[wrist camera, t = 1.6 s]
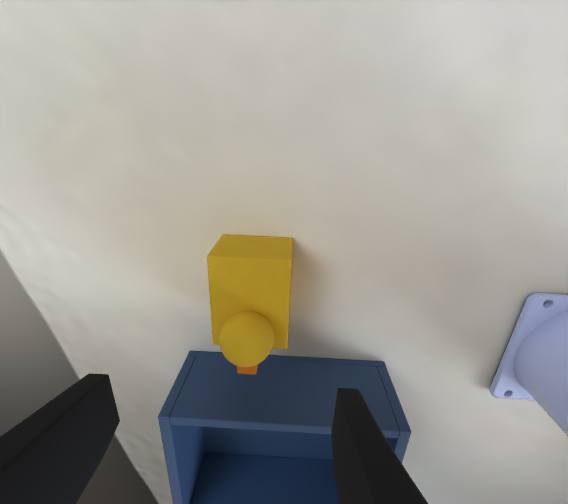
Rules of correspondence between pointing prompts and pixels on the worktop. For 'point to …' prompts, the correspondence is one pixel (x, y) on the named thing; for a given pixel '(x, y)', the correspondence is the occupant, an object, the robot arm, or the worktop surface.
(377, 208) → the worktop surface
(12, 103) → the worktop surface
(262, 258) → the duck
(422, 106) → the worktop surface
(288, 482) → the open box
